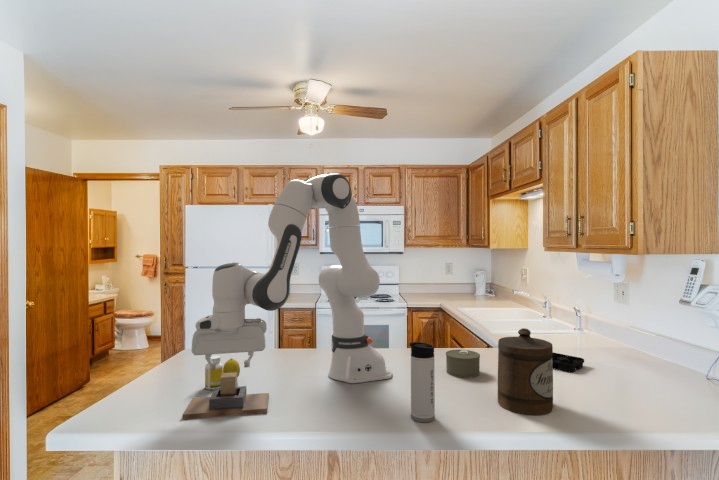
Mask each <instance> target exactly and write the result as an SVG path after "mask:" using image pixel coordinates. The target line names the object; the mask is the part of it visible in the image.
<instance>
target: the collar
mask: <svg viewBox="0 0 719 480" xmlns="http://www.w3.org/2000/svg"><path fill="white" fill-rule="evenodd" d="M246 394H247V385H246V386H245V385H243V386H237V396H225V397H221V388H215V389H214V390H212V392H211V396H209V397H210V399H209V410H223V409H237V408H243V407H244V403H245V400H246Z"/></svg>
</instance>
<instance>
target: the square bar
mask: <svg viewBox="0 0 719 480" xmlns="http://www.w3.org/2000/svg"><path fill="white" fill-rule="evenodd" d="M237 387H238V378H237V372H234V373H223V374H222V376H221V397H225V396H237Z"/></svg>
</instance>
